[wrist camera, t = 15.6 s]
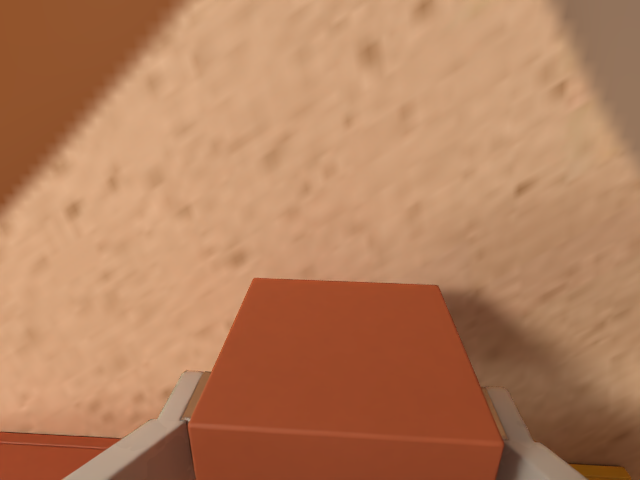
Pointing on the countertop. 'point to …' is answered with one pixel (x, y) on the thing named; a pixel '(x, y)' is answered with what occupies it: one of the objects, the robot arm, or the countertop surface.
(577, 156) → the countertop surface
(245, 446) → the block
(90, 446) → the terracotta bin
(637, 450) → the countertop surface
